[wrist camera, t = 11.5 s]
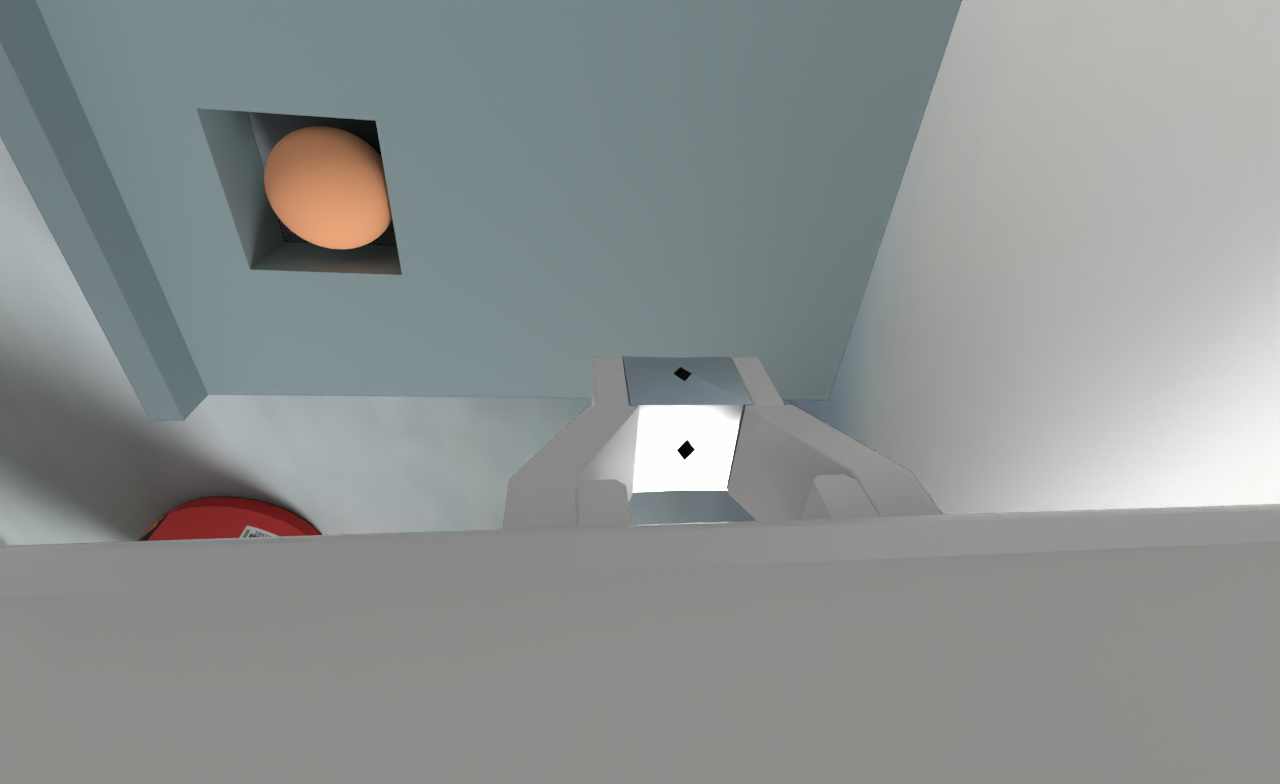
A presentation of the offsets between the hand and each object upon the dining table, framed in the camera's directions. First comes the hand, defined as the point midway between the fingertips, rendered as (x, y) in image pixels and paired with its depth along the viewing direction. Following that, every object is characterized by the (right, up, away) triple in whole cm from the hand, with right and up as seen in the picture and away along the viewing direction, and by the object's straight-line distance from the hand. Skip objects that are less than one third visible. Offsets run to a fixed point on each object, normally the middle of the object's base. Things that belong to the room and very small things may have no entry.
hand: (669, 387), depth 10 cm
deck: (-5, +7, +9) cm, 12 cm away
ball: (-10, +6, +7) cm, 13 cm away
